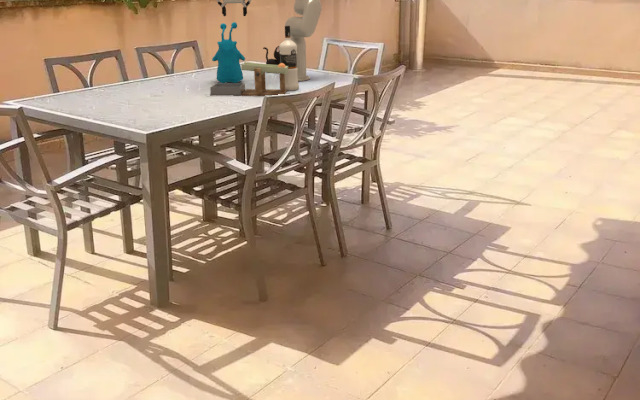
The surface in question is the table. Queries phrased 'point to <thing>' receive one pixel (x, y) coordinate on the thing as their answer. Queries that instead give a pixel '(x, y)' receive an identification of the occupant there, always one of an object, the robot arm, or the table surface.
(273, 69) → the lever
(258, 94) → the stand
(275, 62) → the toy
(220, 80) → the toy
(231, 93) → the dish
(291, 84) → the vodka
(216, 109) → the table surface
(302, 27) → the robot arm
